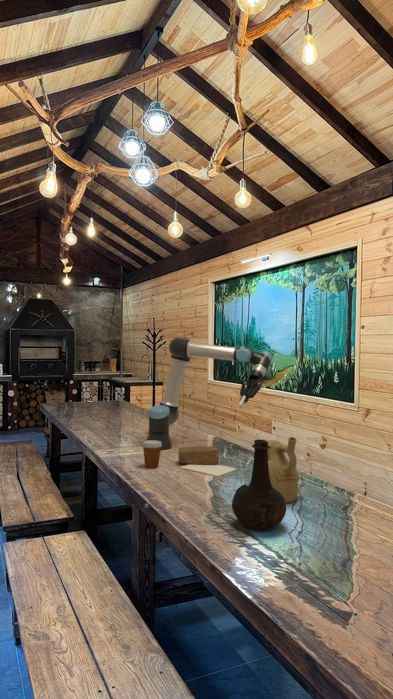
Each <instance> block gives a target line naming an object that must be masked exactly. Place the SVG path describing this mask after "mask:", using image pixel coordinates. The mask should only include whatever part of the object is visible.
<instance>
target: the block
mask: <svg viewBox="0 0 393 699" xmlns="http://www.w3.org/2000/svg"><path fill="white" fill-rule="evenodd" d="M219 451H220V450H219V448H218V447H215V446H186V447H179V448H178V462H179V463H180V464H186V465H189V464H217V465H218V464H219V461H220V460H219V458H220V452H219Z"/></svg>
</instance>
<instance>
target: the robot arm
mask: <svg viewBox="0 0 393 699" xmlns="http://www.w3.org/2000/svg"><path fill="white" fill-rule="evenodd" d="M168 351H169V352H170V359H171V360H172V362H171V366H170V370H169V375H168V379H167V382H166V386H165V391H164V396H163V398H162V400H160V402H159V404H158V405H154V406H153V405H152V406H151V407H150V408H149V409H148V410H149V411H148V435H147V438H146V441H147V440H157V441H161V444H162V447H161V451H164V449H166V450H170V449H172V448H173V447H172V446H173V445H172V442H171V437H170V436H171V435H170V426H171V425H173V424H174V423H176V422H177V420H178V419H179V414H180V413H179V408H180V407H179V406H180V404H179V403H178V400H179V397H180V394H181V393H180V392H181V388H182V384H183V380H184V376H185V372H186V368H187V365H188V364H189V363H190V362H191V357H200V358H207V359H214V360H215V359H216V360H224V361H233V362H240V363H248V364H251V365H254V366H253V368H252V370H251V371H250V372H249V375H248V378H247V379H246V381H241V387H240V390H239V391H240V392H239V395H240V399H239V403H238V407H239V408H240V409H244V407H245V405H246V404H247V403H248V401H249V399H253V398H254V397H255V396H256V394H257V393H258V392H259V391H260V390H261V389H262V388H263V387H264V385H263V383H262V382H263V379H264V377H265V375H266V373H267V371H268V369H269V367H270V365H271V363H272V361H273V355H272V353H271V352H269V351H268V350H267V351H266V350H263V351H261V352H257V351H255V350H252V349H251V348H248V347H246V346H243V345H241V346H240V347H234V346H226V345H218V344H208V343H202V342H200V343H198V342H193V341H192V340H191V339H189V338H187V337H179V336H178V337H174V338H173V339H171V340H170V342H169V344H168ZM171 447H172V448H171ZM169 448H170V449H169Z"/></svg>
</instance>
